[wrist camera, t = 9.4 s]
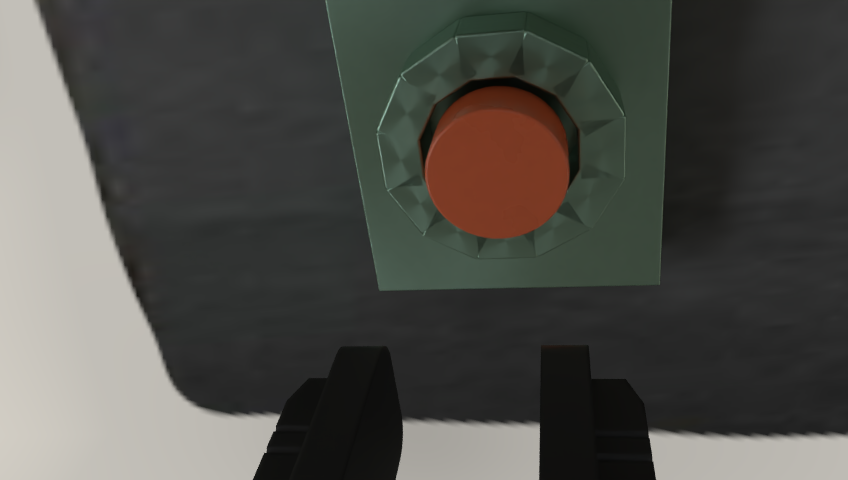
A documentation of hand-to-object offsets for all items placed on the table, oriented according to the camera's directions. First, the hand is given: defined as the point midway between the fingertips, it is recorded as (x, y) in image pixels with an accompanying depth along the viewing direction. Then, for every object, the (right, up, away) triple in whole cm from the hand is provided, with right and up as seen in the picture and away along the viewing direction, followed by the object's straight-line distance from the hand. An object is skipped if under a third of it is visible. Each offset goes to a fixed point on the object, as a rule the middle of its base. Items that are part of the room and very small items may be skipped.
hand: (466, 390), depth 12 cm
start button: (+1, +5, +8) cm, 9 cm away
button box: (+2, +7, +11) cm, 13 cm away
